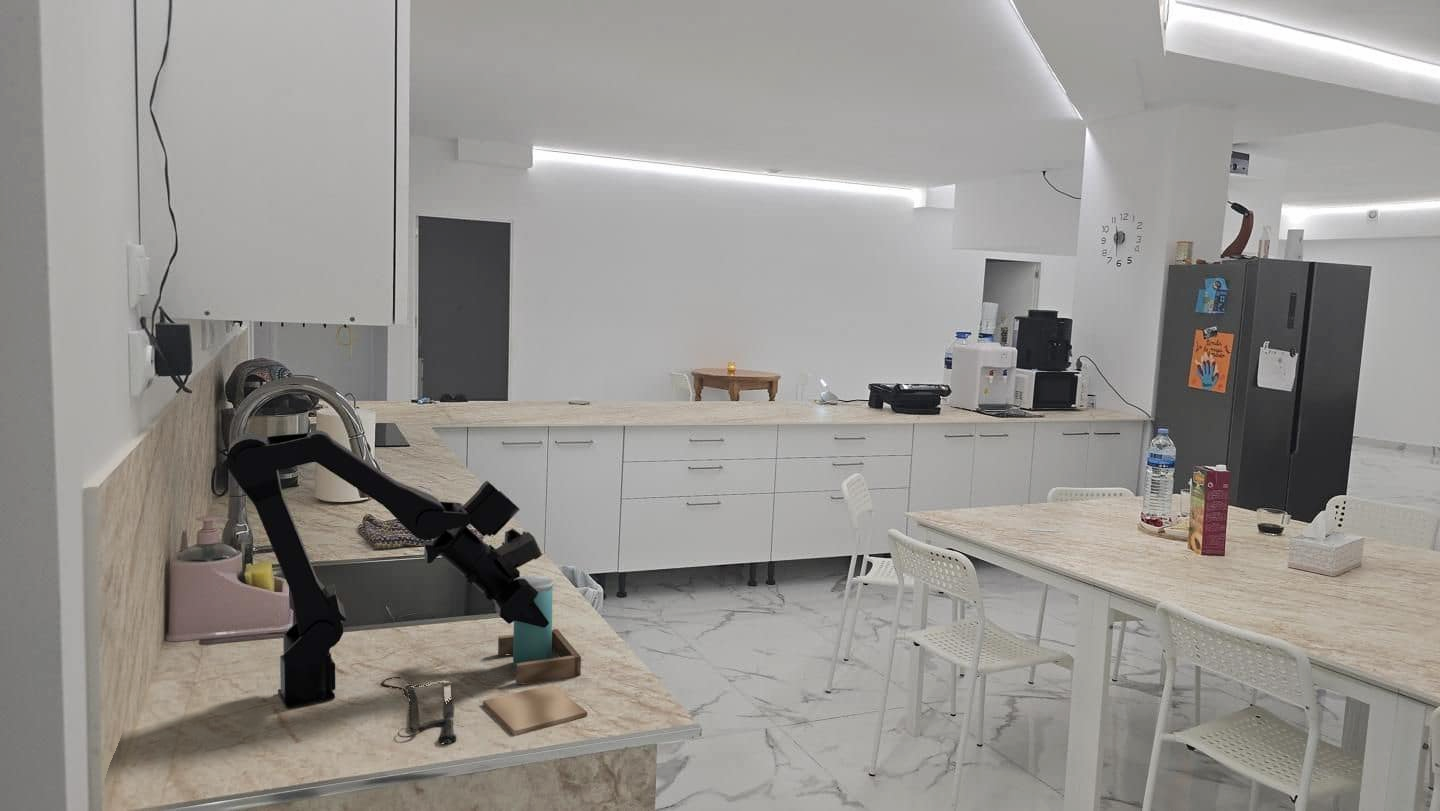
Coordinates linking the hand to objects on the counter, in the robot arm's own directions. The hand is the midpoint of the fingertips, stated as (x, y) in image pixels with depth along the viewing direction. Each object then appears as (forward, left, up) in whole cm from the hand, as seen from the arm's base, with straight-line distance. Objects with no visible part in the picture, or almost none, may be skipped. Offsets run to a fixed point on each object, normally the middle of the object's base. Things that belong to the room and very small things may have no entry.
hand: (541, 618), depth 146 cm
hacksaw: (-22, -6, -8) cm, 24 cm away
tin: (-1, 0, -8) cm, 8 cm away
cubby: (-1, 0, -8) cm, 8 cm away
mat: (-8, -15, -8) cm, 18 cm away
